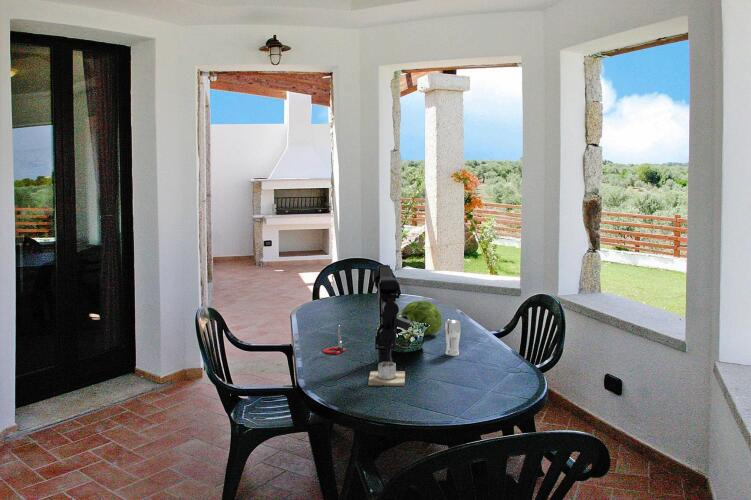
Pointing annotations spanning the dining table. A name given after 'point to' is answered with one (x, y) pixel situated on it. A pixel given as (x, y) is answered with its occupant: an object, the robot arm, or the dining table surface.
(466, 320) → the dining table surface
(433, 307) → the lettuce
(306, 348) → the dining table surface
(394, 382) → the birch base board
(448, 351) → the beer glass
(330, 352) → the tow hook
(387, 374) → the aluminium ring
